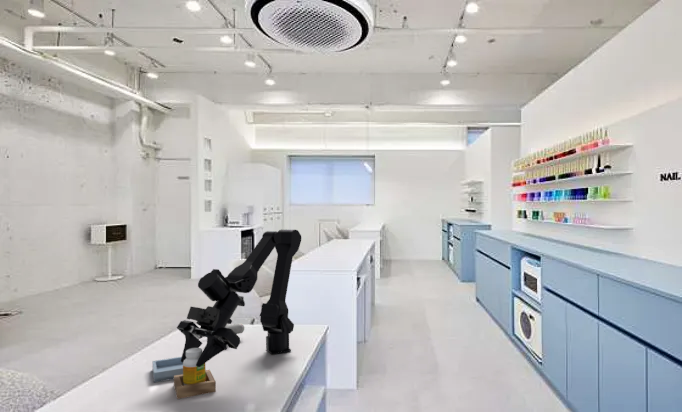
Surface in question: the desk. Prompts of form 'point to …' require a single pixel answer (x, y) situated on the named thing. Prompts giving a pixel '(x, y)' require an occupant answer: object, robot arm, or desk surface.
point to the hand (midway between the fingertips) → (189, 364)
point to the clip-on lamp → (235, 328)
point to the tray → (167, 369)
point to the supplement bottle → (193, 367)
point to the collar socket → (194, 386)
